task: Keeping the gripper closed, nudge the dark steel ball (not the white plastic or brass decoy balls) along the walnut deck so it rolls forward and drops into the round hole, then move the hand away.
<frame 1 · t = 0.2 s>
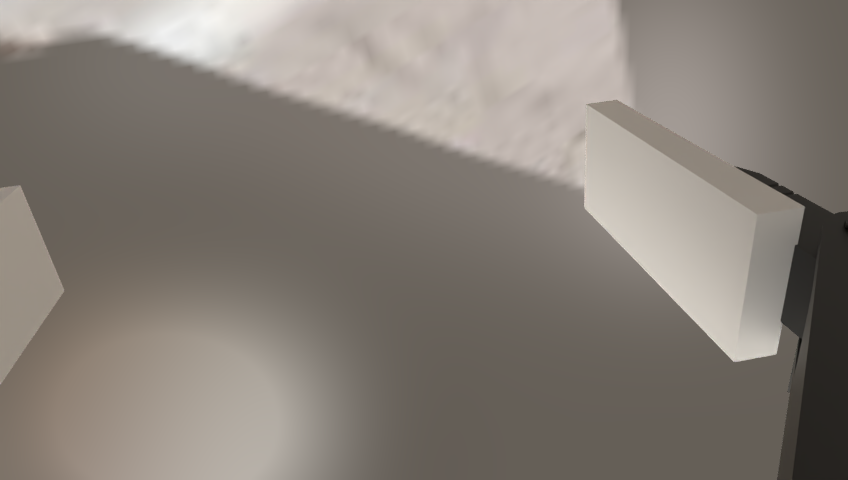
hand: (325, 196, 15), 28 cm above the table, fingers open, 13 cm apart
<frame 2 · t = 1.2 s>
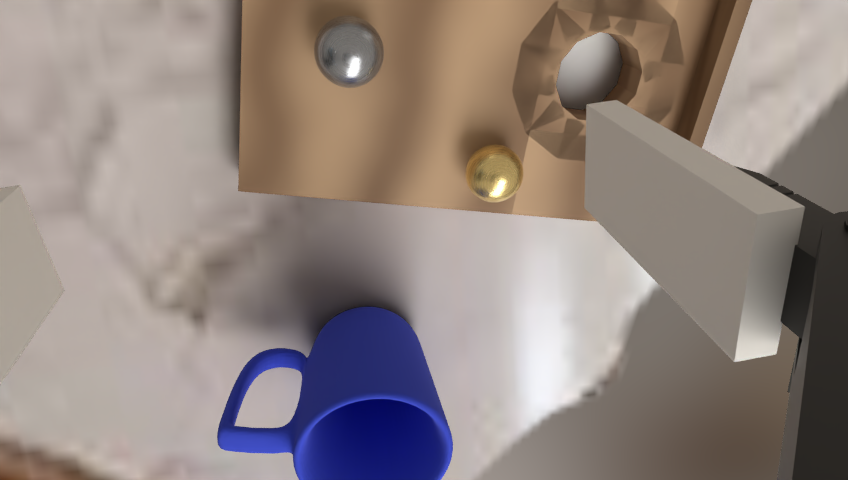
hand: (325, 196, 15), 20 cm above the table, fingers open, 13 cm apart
deck: (477, 55, 34), on the table
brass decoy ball: (494, 173, 33), point 4 cm above the table, touching deck
steel ball: (349, 52, 29), point 4 cm above the table, touching deck
mug: (335, 340, 41), on the table
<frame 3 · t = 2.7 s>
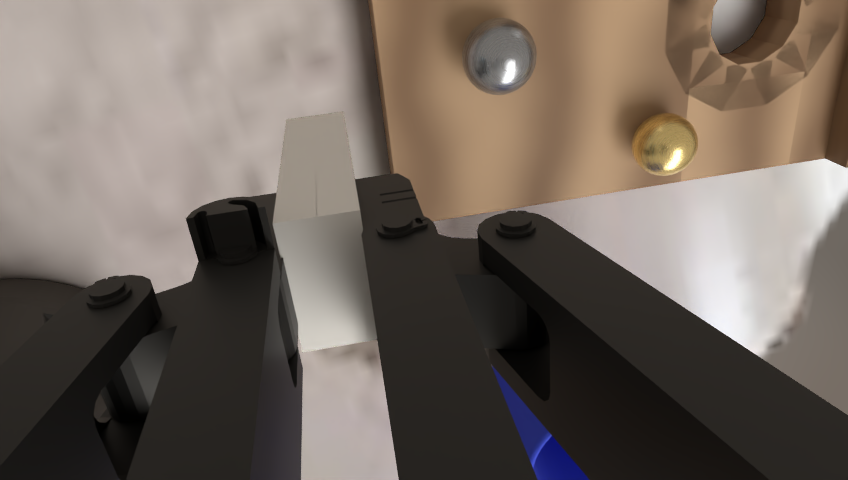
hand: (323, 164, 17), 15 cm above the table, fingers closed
deck: (613, 23, 32), on the table
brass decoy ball: (664, 144, 30), point 4 cm above the table, touching deck
steel ball: (499, 57, 27), point 4 cm above the table, touching deck
mug: (509, 349, 40), on the table
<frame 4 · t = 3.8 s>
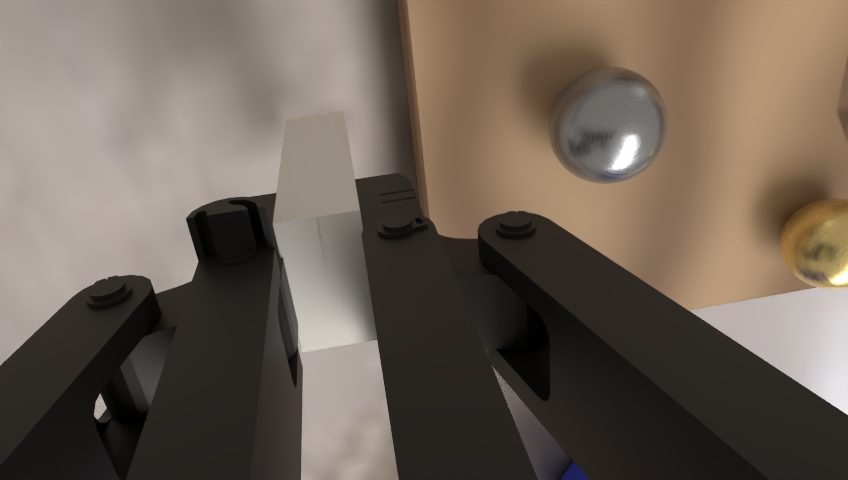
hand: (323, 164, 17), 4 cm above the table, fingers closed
deck: (750, 64, 22), on the table
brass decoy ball: (831, 243, 21), point 4 cm above the table, touching deck
steel ball: (606, 126, 18), point 4 cm above the table, touching deck
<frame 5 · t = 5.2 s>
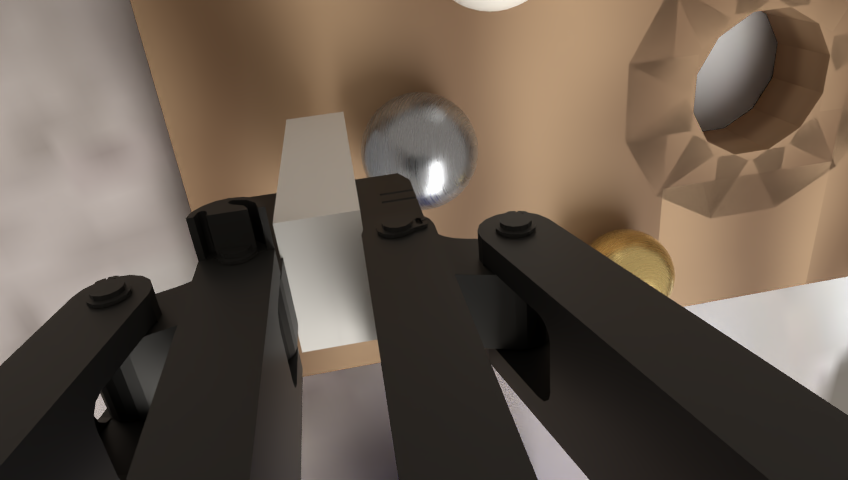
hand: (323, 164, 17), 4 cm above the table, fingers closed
deck: (551, 92, 22), on the table
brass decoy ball: (625, 275, 20), point 4 cm above the table, touching deck
steel ball: (419, 151, 17), point 4 cm above the table, tilted 59°, touching deck
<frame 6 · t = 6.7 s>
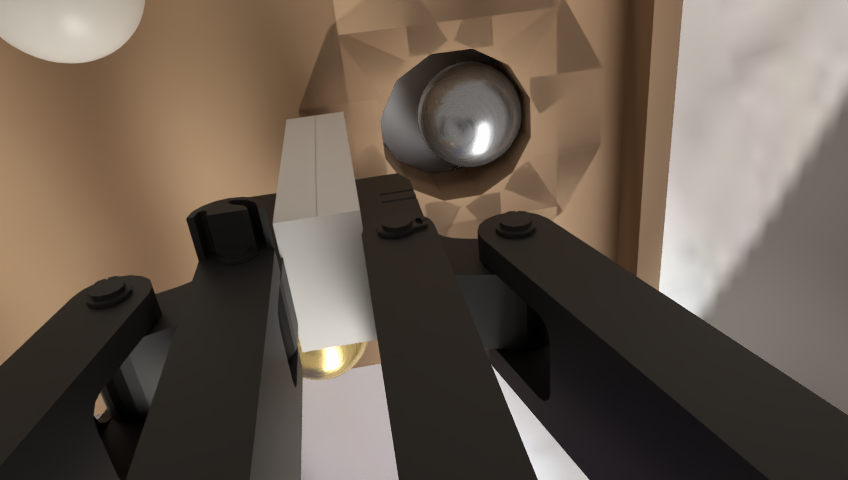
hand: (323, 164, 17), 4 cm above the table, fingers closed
deck: (259, 133, 20), on the table
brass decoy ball: (320, 329, 19), point 4 cm above the table, touching deck
steel ball: (469, 115, 20), point 2 cm above the table, tilted 154°
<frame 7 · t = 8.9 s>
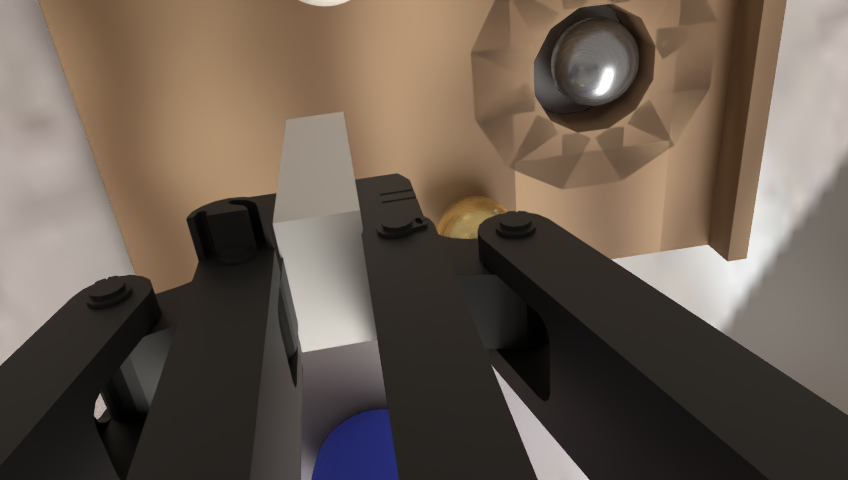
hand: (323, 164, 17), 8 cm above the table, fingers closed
deck: (422, 76, 25), on the table
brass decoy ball: (476, 235, 24), point 4 cm above the table, touching deck
steel ball: (594, 62, 24), point 2 cm above the table, tilted 145°
mug: (345, 452, 33), on the table
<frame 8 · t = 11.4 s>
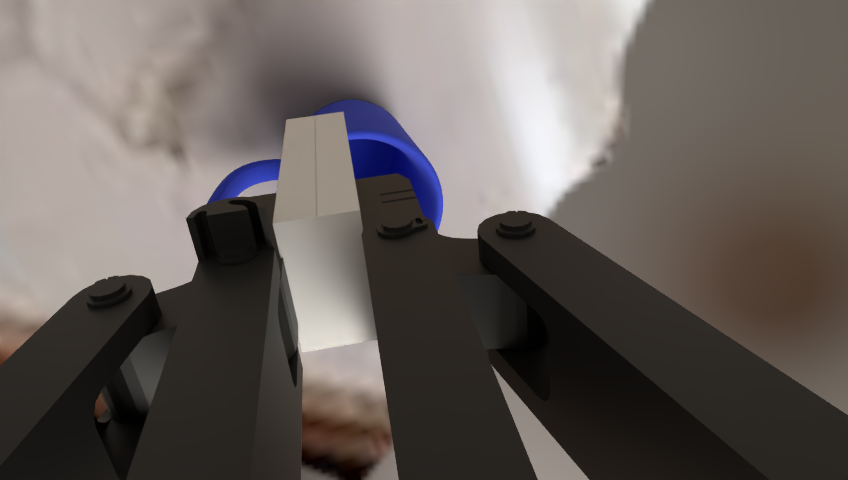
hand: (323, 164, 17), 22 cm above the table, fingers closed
mug: (320, 152, 40), on the table
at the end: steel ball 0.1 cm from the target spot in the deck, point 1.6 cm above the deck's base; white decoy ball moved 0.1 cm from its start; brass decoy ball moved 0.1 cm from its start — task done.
